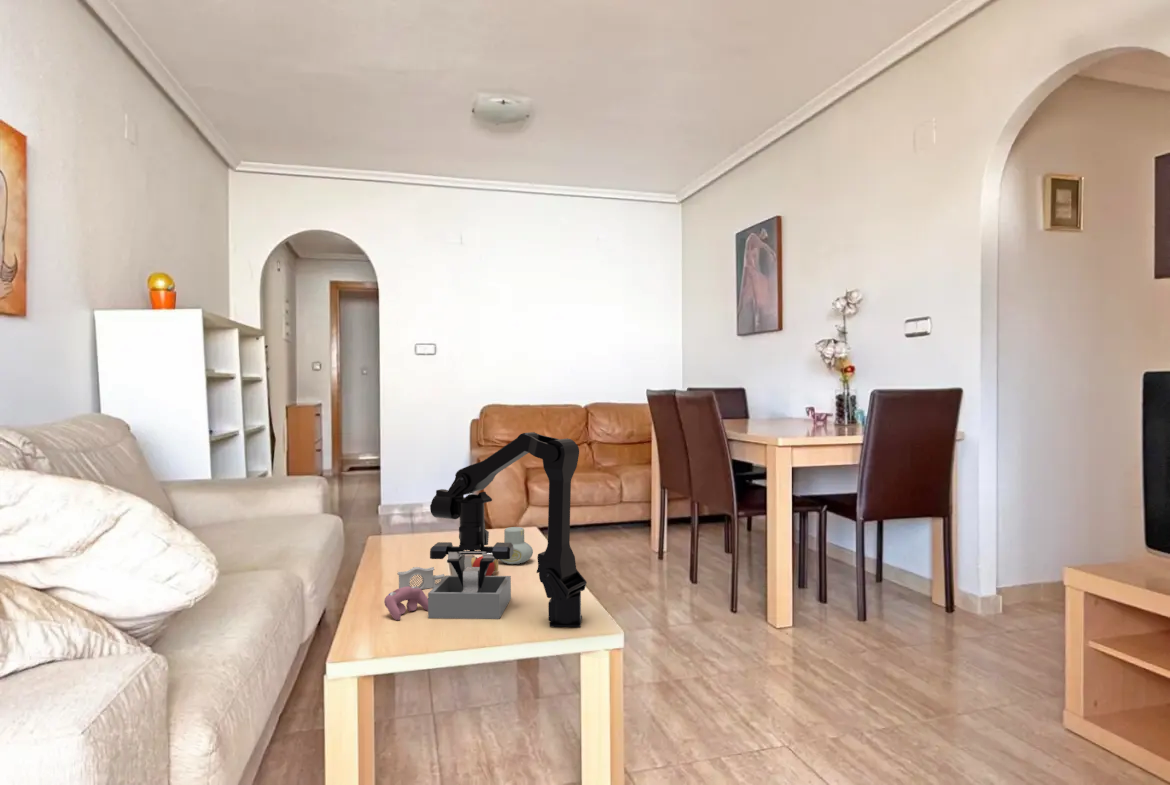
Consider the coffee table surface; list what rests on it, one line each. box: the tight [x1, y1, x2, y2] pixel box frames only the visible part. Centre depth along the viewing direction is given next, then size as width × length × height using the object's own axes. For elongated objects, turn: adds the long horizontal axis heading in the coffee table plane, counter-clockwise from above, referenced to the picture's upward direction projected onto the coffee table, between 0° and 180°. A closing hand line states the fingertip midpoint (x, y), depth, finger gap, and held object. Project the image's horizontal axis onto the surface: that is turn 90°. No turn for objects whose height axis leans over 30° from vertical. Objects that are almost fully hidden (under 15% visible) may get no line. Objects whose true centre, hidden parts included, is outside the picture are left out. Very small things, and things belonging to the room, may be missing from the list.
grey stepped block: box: [462, 566, 482, 593], centre depth 156 cm, size 4×8×6 cm, turn 177°
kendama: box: [470, 555, 499, 576], centre depth 189 cm, size 8×6×18 cm
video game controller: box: [384, 585, 428, 621], centre depth 154 cm, size 10×5×7 cm, turn 141°
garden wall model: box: [397, 566, 446, 590], centre depth 173 cm, size 12×2×6 cm, turn 121°
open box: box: [427, 575, 512, 620], centre depth 157 cm, size 16×15×6 cm
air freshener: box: [498, 526, 534, 565], centre depth 200 cm, size 11×8×10 cm
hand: (472, 587), depth 158 cm, fingers closed on grey stepped block, 3 cm apart
